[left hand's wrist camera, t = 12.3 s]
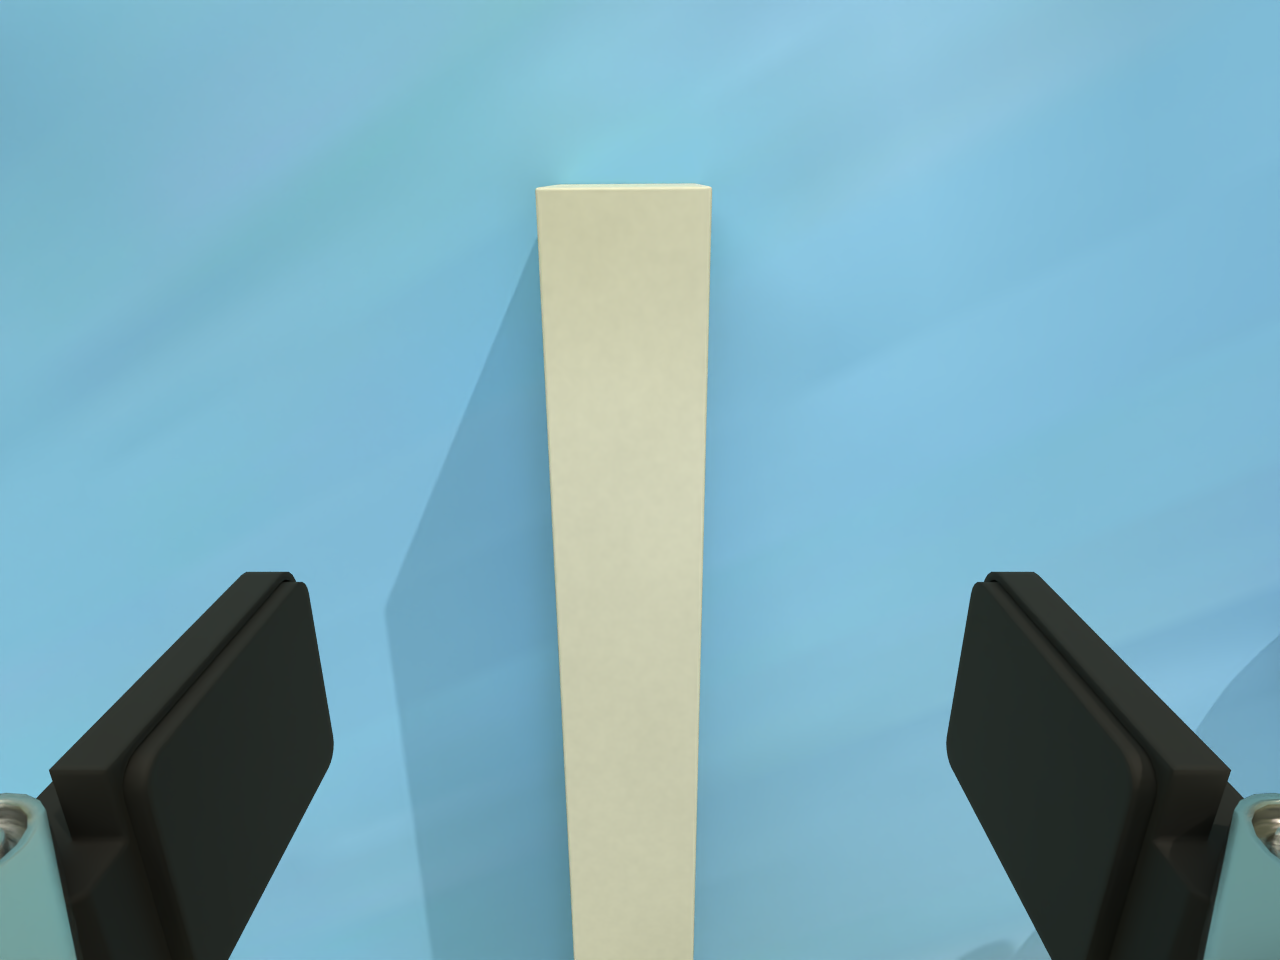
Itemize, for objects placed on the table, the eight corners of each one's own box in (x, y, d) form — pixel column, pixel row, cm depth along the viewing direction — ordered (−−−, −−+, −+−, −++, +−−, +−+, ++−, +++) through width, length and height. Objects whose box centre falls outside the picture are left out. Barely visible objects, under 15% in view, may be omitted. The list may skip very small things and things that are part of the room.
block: (557, 184, 34) (534, 187, 27) (696, 183, 34) (712, 186, 27) (594, 1105, 55) (588, 1244, 48) (680, 1105, 55) (686, 1244, 48)
